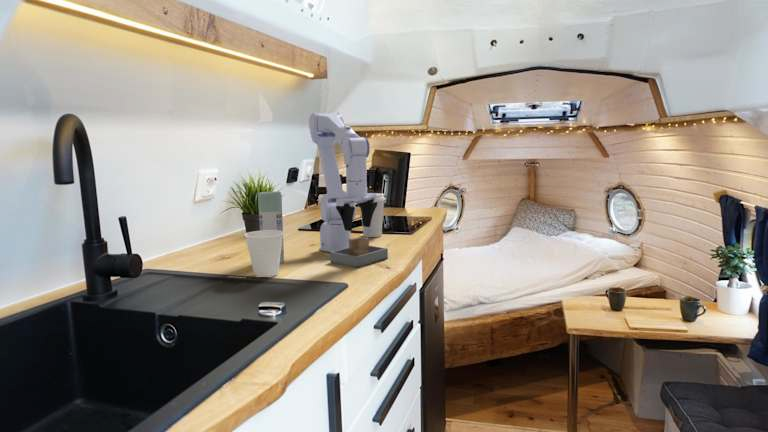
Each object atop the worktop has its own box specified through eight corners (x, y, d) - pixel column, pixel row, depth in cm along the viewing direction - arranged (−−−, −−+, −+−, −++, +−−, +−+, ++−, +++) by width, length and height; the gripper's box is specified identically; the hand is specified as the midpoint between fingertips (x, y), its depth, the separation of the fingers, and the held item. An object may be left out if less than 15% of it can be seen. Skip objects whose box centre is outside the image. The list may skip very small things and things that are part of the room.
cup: (292, 271, 136) (291, 230, 134) (273, 281, 126) (270, 238, 125) (260, 269, 139) (258, 229, 137) (238, 278, 130) (236, 236, 128)
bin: (330, 262, 145) (330, 252, 144) (361, 253, 155) (361, 244, 154) (357, 267, 138) (356, 257, 138) (387, 258, 148) (387, 248, 148)
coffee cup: (356, 238, 179) (355, 195, 177) (362, 233, 188) (361, 192, 186) (383, 238, 178) (382, 195, 175) (387, 233, 187) (387, 192, 185)
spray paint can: (282, 264, 143) (279, 193, 140) (259, 265, 143) (255, 194, 140) (285, 259, 150) (282, 191, 147) (263, 259, 150) (260, 191, 146)
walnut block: (349, 259, 146) (348, 239, 145) (359, 257, 149) (358, 236, 148) (359, 261, 143) (359, 240, 142) (369, 259, 146) (368, 238, 145)
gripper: (348, 183, 135) (350, 234, 137) (384, 179, 146) (384, 226, 148) (330, 182, 139) (331, 231, 141) (365, 178, 150) (366, 223, 152)
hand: (357, 228), depth 145 cm, fingers open, 7 cm apart
